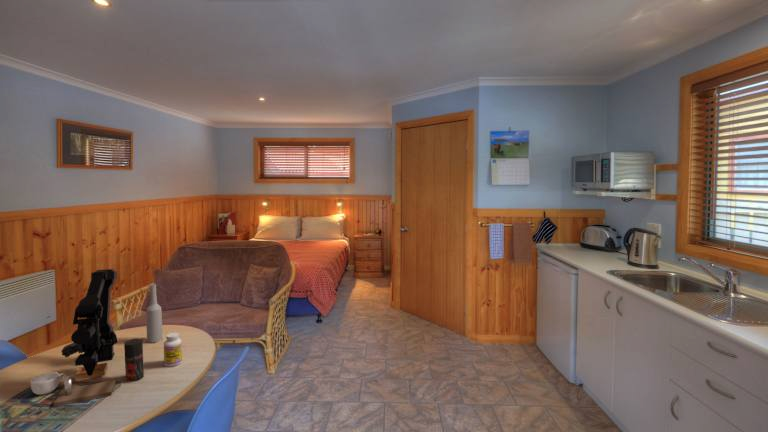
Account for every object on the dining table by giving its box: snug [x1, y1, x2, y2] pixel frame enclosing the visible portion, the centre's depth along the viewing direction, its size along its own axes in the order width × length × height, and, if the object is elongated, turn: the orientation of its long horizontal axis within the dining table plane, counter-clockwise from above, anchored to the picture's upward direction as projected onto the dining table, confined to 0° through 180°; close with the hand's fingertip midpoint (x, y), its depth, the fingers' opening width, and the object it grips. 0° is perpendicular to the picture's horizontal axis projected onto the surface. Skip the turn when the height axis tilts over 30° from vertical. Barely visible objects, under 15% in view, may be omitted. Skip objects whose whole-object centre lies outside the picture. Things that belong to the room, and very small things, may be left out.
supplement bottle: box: [163, 332, 183, 368], centre depth 157 cm, size 7×7×13 cm
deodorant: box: [123, 338, 145, 383], centre depth 144 cm, size 6×6×15 cm
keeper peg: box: [63, 377, 73, 396], centre depth 130 cm, size 2×2×6 cm
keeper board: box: [53, 379, 117, 408], centre depth 133 cm, size 16×9×2 cm, turn 118°
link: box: [74, 362, 109, 381], centre depth 145 cm, size 9×6×2 cm, turn 118°
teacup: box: [29, 371, 66, 396], centre depth 135 cm, size 10×8×5 cm
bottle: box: [145, 283, 164, 344], centre depth 178 cm, size 7×7×28 cm
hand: (92, 371), depth 145 cm, fingers closed on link, 6 cm apart
